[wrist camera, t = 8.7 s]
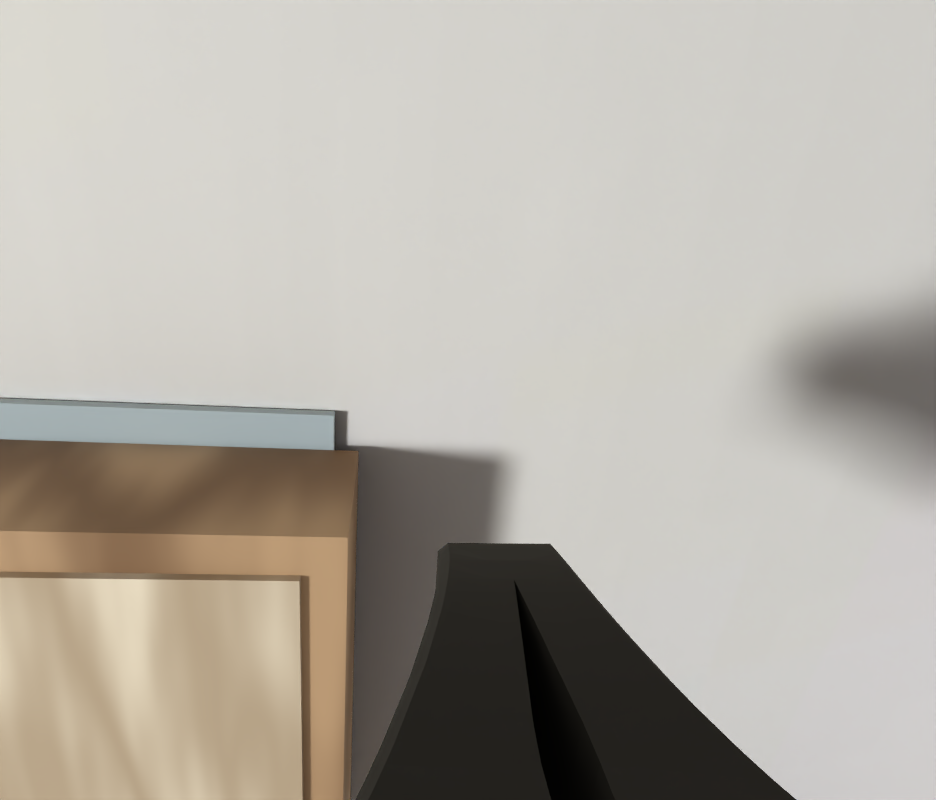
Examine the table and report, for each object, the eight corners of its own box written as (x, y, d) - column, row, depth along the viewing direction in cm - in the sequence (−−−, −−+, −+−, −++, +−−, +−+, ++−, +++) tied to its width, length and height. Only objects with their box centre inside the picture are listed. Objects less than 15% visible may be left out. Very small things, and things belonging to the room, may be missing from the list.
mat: (334, 411, 18) (333, 415, 18) (331, 825, 25) (330, 833, 24) (-120, 393, 17) (-129, 398, 17) (-3, 834, 23) (-7, 843, 23)
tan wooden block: (347, 542, 15) (-173, 533, 14) (340, 950, 20) (-33, 967, 19) (358, 451, 19) (-47, 437, 17) (350, 813, 24) (41, 821, 23)
